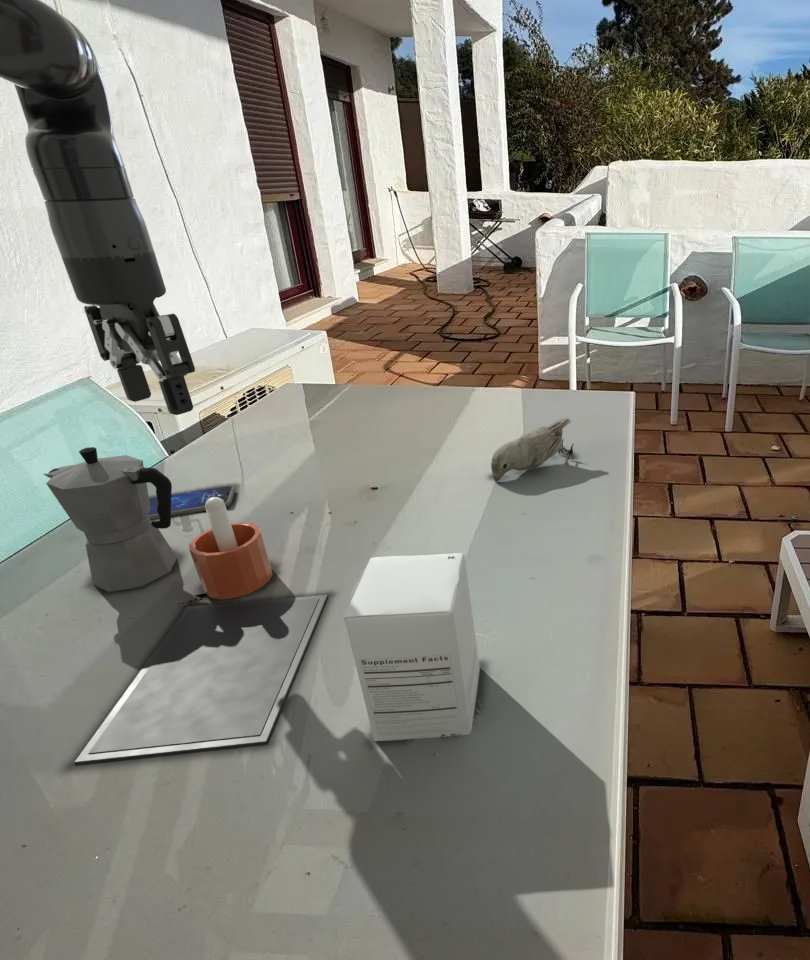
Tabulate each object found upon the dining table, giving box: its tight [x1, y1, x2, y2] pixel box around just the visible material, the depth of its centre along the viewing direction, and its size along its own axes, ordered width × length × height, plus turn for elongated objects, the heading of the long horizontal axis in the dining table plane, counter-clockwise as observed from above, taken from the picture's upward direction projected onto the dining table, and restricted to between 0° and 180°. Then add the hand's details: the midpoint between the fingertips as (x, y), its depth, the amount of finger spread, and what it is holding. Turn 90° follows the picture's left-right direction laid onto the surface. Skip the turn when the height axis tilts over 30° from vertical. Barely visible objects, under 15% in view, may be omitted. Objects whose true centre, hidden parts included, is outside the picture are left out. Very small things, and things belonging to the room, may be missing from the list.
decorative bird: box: [490, 416, 575, 483], centre depth 108 cm, size 5×16×7 cm, turn 132°
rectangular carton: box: [343, 552, 481, 742], centre depth 58 cm, size 9×9×15 cm
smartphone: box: [148, 485, 236, 521], centre depth 98 cm, size 7×1×15 cm
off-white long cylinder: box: [205, 497, 238, 552], centre depth 77 cm, size 2×2×12 cm
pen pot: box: [188, 521, 273, 600], centre depth 78 cm, size 8×8×7 cm
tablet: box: [73, 594, 329, 765], centre depth 66 cm, size 16×22×1 cm
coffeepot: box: [43, 446, 178, 593], centre depth 78 cm, size 15×9×18 cm, turn 85°
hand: (160, 405), depth 69 cm, fingers open, 8 cm apart
